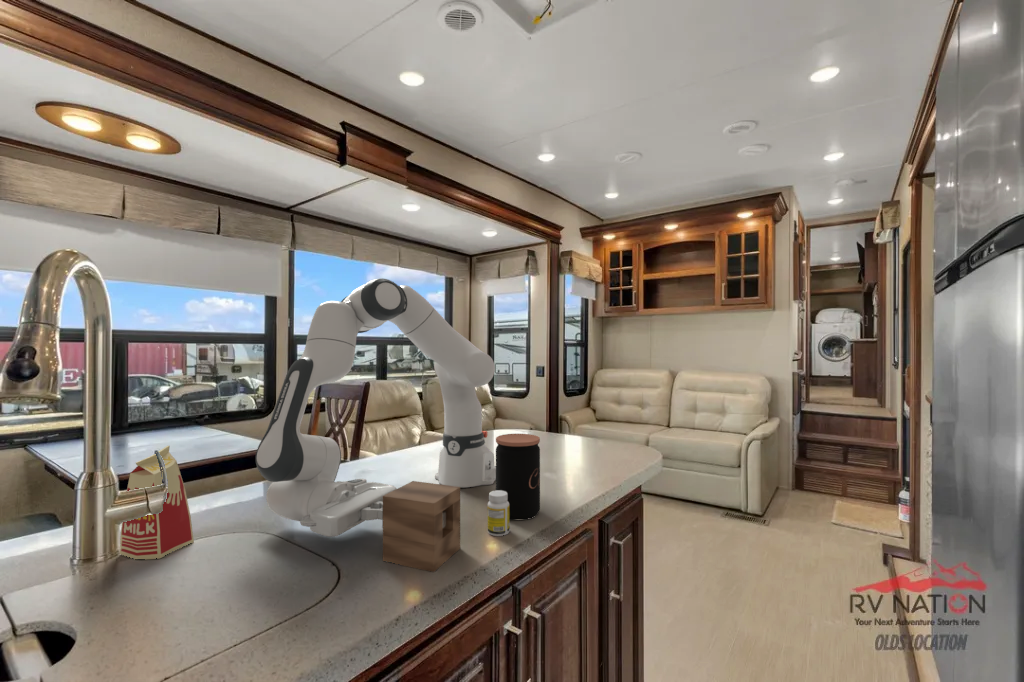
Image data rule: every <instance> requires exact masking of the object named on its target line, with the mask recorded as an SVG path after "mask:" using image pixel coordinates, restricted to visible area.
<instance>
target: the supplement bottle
mask: <svg viewBox="0 0 1024 682" xmlns="http://www.w3.org/2000/svg"><path fill="white" fill-rule="evenodd" d="M488 500H489V501H487V505H486V506H487V533H488V534H489V535H491V536H494V537H504V536H506V535H508V534H509V533H510V527H511V526H510V522H511V521H510V519H509V502H508V501H507V500H508V495H507V492H505V491H501V490H496V489H495V490H492V491H490V492H489V494H488ZM503 535H504V536H503Z"/></svg>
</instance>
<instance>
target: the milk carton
mask: <svg viewBox="0 0 1024 682" xmlns="http://www.w3.org/2000/svg"><path fill="white" fill-rule="evenodd" d="M157 452H159V453H160V455H161V456H162V458H163V460H164V463H165V468H166V472H167V479H168V493H167V499H166V502H164V504H163V511H162V512H161V513H159V514H153V515H147V516H144V517H141V518H138V519H134V520H131V521H127V522H123V523H122V522H121V527H120V538H119V539H120V543H119V545H120V546H119V555H120V554H122V555H121V556H123V555H124V556H123V557H126V556H127V557H126V558H129V557H130V558H129V559H132V558H134V559H133V560H135V559H145V560H155V559H156V558H157V559H162V558H164V557H166V556H167V554H168V555H169V553H170V554H171V553H173V552H175V550H176V551H177V549H178V550H180V549H182V547H183V546H185V547H187V546H189V545H188V544H190V543H192V544H194V543H195V539H194V531H193V524H192V517H191V516H192V515H191V511H190V506H189V500H188V497H187V492H186V487H185V484H184V481H183V478H182V475H181V474H182V473H181V471H180V468H179V465H178V462H177V459H176V458H175V457H174V456H173V455H172V454H171V453H170V445H166V446H165V447H163V448H162V449H160V450H159V451H157ZM135 465H136V467H135V468H134V469H133V470H132V471H131V472H130V474H129V479H128V482H127V483H128V484H127V488H126V492H127V491H129V490H134V489H139V488H145V487H152V486H157V485H161V484H163V483H162V479H163V472H162V477H161V471H160V467H159V463H158V459H157V456H156V454H155V453H154V454H152V455H150V456H148V457H146V458H143V459H141V460H138V461H136V462H135ZM163 468H164V467H163ZM161 469H162V467H161ZM162 471H163V470H162ZM193 542H194V543H193ZM186 545H187V546H186ZM190 545H191V544H190ZM179 548H180V549H179ZM183 548H184V547H183ZM172 551H173V552H172ZM165 555H166V556H165Z"/></svg>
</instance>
